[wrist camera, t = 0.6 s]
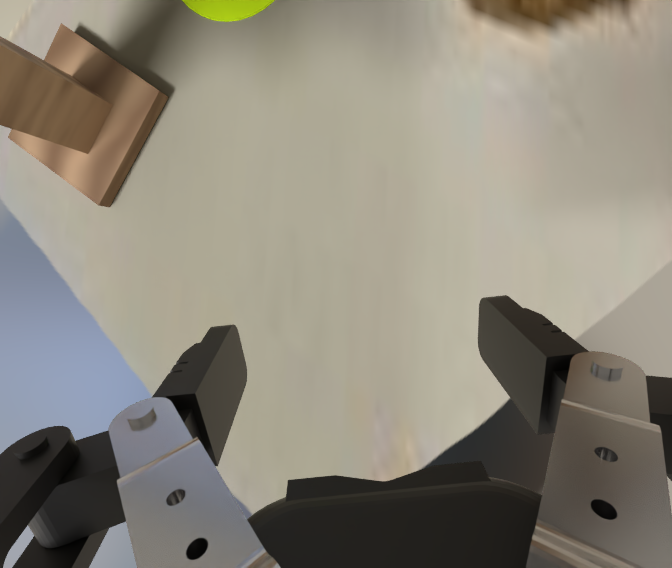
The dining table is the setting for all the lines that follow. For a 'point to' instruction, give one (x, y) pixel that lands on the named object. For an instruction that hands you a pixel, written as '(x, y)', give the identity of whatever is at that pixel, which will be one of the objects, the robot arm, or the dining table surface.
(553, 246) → the dining table surface
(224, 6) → the toy cauldron
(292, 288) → the dining table surface
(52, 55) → the shelf stand
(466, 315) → the dining table surface
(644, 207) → the dining table surface
